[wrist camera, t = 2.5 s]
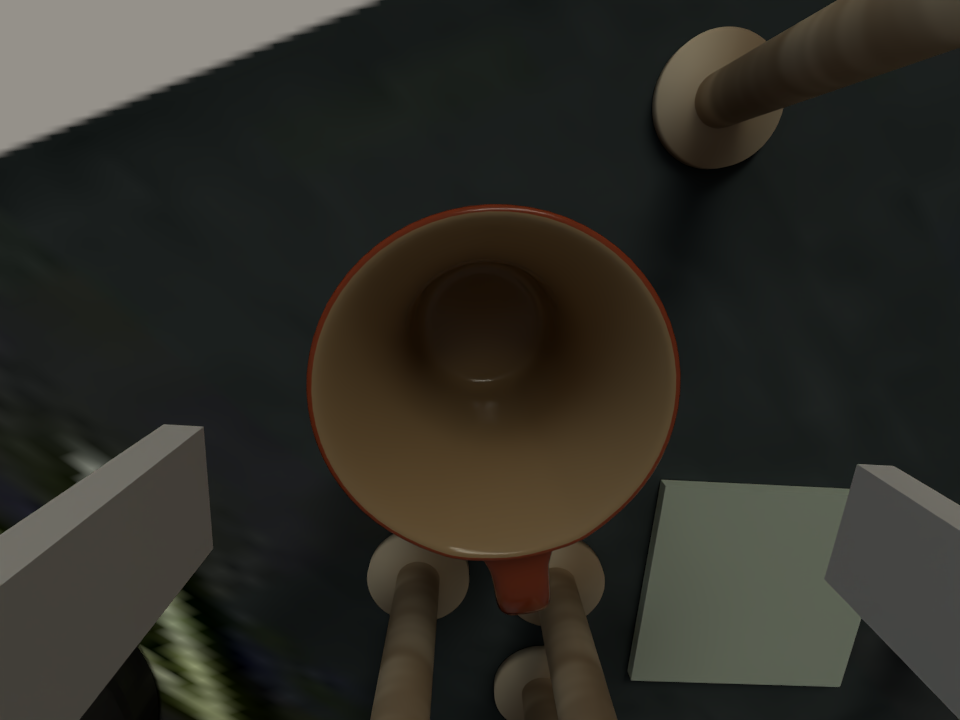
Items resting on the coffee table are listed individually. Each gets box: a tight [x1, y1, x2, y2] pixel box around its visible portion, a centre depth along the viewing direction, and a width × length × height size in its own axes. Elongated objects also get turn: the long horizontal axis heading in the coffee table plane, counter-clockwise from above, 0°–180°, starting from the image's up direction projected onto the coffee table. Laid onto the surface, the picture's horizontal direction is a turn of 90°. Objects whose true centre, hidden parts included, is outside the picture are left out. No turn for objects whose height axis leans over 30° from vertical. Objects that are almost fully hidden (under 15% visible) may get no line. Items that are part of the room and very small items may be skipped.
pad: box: [627, 480, 861, 687], centre depth 26 cm, size 11×11×1 cm
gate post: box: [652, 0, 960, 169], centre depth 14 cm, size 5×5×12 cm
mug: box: [306, 204, 681, 615], centre depth 18 cm, size 12×9×10 cm
